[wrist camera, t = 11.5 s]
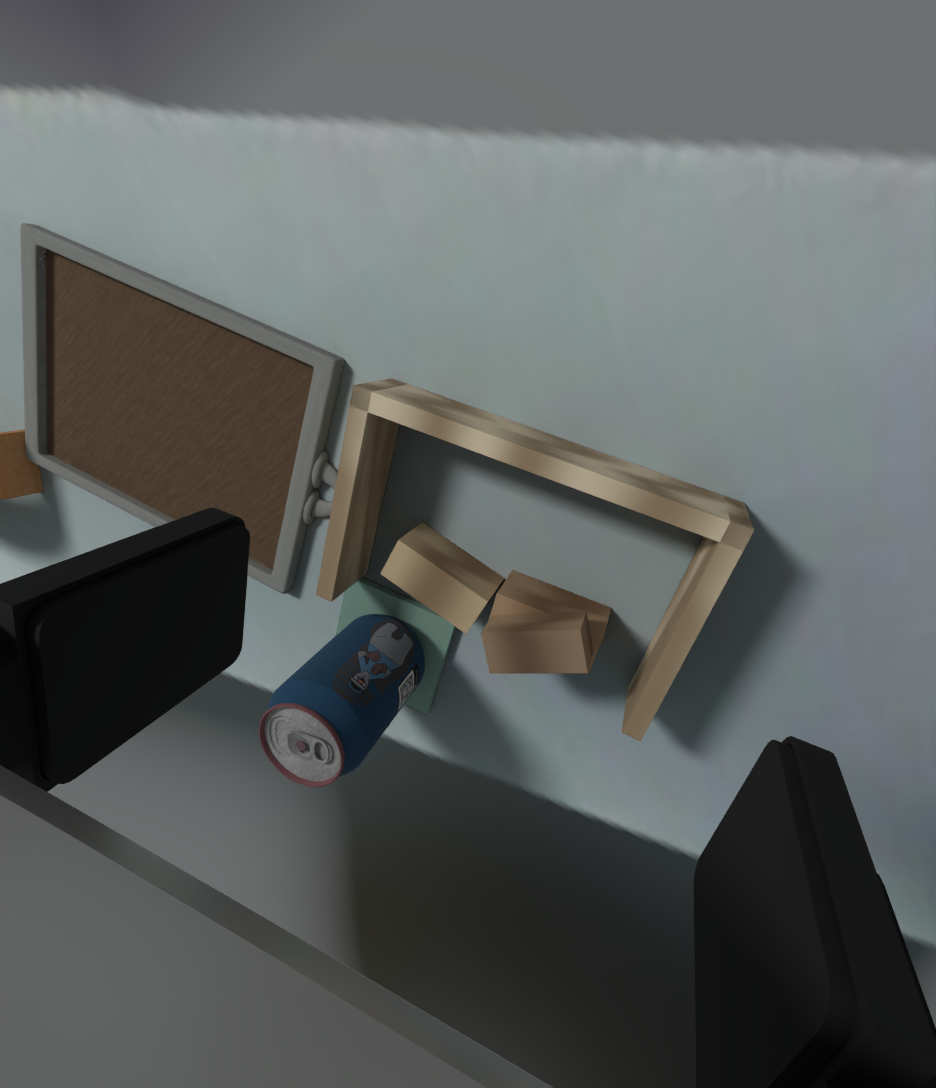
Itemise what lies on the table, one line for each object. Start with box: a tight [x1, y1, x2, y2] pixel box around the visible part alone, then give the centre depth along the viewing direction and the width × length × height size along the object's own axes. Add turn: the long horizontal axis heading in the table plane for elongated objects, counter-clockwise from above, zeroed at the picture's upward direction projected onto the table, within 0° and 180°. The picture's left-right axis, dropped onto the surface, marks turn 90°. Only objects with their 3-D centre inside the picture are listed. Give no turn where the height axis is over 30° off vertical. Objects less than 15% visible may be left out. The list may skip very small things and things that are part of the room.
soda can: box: [259, 614, 425, 787], centre depth 39 cm, size 7×7×12 cm
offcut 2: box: [488, 570, 611, 674], centre depth 37 cm, size 7×3×4 cm, turn 75°
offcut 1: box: [380, 522, 504, 634], centre depth 39 cm, size 7×3×4 cm, turn 60°
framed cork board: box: [21, 223, 344, 594], centre depth 44 cm, size 19×2×30 cm
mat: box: [336, 578, 456, 715], centre depth 45 cm, size 9×9×1 cm
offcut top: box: [481, 611, 593, 673], centre depth 35 cm, size 6×3×2 cm, turn 102°
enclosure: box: [316, 379, 754, 741], centre depth 36 cm, size 23×15×5 cm, turn 73°
